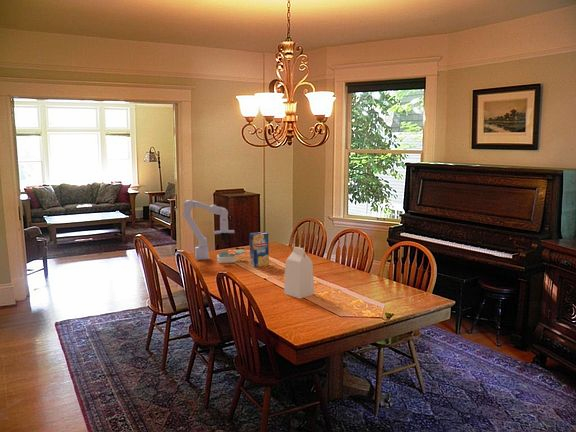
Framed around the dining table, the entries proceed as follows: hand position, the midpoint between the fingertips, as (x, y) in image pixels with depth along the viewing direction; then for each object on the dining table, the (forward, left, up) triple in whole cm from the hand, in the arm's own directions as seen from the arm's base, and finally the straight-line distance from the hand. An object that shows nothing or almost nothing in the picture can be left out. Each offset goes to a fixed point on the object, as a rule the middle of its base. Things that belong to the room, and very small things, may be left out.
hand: (224, 243), depth 349 cm
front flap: (-4, -20, -3) cm, 20 cm away
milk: (+25, -99, -11) cm, 102 cm away
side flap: (+8, -13, -4) cm, 16 cm away
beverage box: (+19, -31, -11) cm, 37 cm away
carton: (-1, -13, -10) cm, 16 cm away
